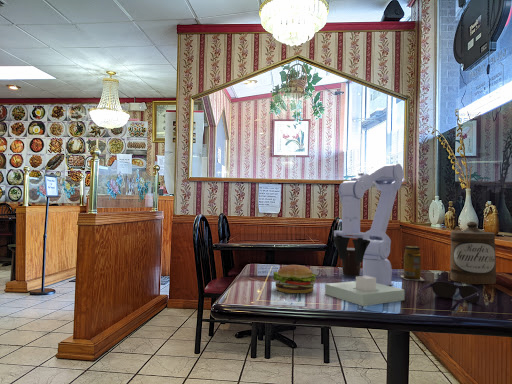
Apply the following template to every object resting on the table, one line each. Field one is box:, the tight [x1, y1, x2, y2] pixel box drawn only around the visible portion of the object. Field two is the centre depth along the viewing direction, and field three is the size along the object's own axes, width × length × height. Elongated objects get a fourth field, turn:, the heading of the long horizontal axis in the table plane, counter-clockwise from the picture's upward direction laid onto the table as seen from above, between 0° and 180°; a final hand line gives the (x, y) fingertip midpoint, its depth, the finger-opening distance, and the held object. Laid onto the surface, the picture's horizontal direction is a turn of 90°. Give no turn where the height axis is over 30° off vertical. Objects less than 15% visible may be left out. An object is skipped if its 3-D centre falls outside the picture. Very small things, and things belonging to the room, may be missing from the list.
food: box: [273, 264, 318, 295], centre depth 126 cm, size 14×14×8 cm
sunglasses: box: [419, 280, 481, 311], centre depth 111 cm, size 14×16×5 cm
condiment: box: [400, 245, 425, 282], centre depth 150 cm, size 7×8×12 cm
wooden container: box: [449, 221, 497, 285], centre depth 147 cm, size 15×15×22 cm
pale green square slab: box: [324, 280, 405, 307], centre depth 117 cm, size 16×16×3 cm
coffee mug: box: [341, 247, 362, 277], centre depth 156 cm, size 12×9×10 cm
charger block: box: [355, 275, 376, 292], centre depth 113 cm, size 4×4×6 cm
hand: (350, 260), depth 126 cm, fingers open, 7 cm apart
